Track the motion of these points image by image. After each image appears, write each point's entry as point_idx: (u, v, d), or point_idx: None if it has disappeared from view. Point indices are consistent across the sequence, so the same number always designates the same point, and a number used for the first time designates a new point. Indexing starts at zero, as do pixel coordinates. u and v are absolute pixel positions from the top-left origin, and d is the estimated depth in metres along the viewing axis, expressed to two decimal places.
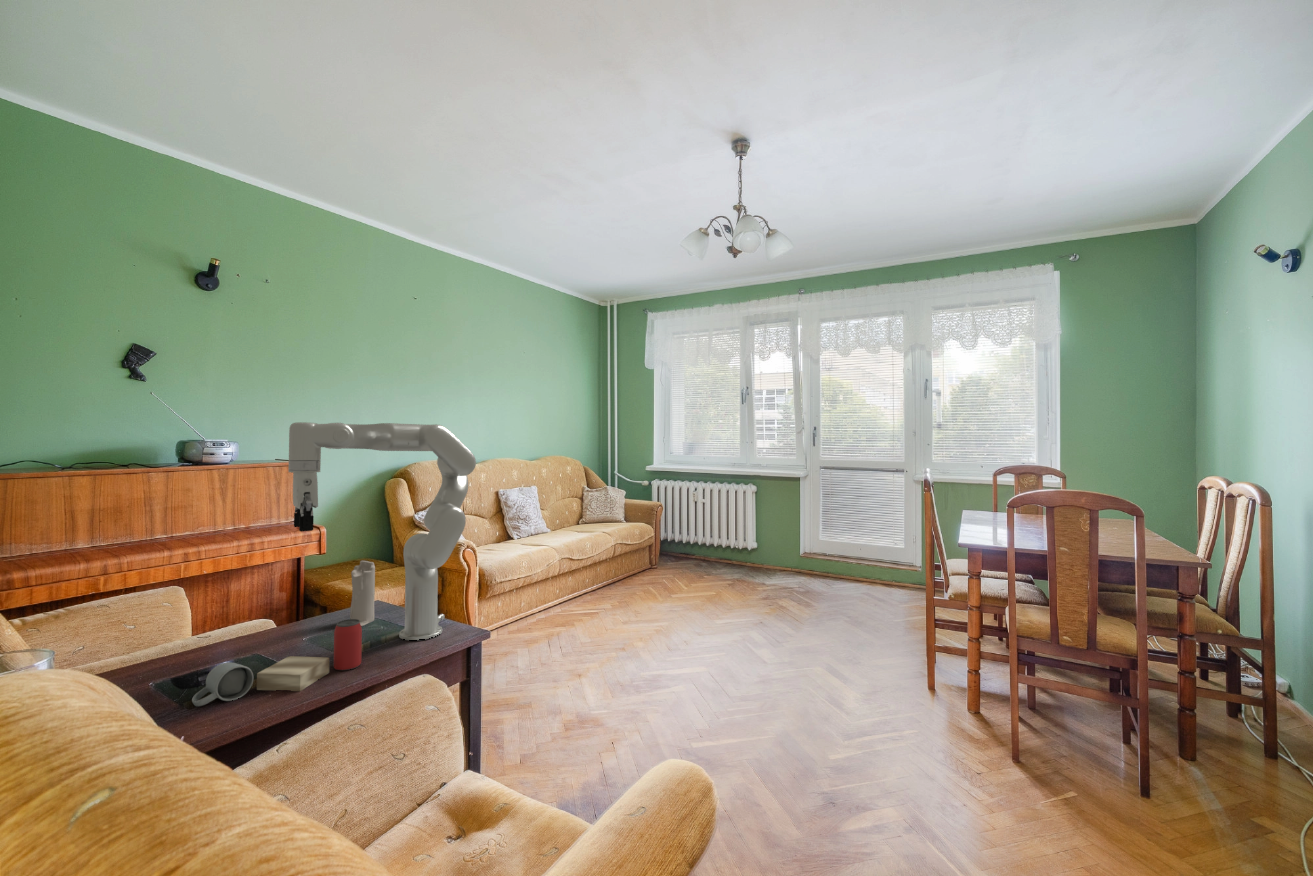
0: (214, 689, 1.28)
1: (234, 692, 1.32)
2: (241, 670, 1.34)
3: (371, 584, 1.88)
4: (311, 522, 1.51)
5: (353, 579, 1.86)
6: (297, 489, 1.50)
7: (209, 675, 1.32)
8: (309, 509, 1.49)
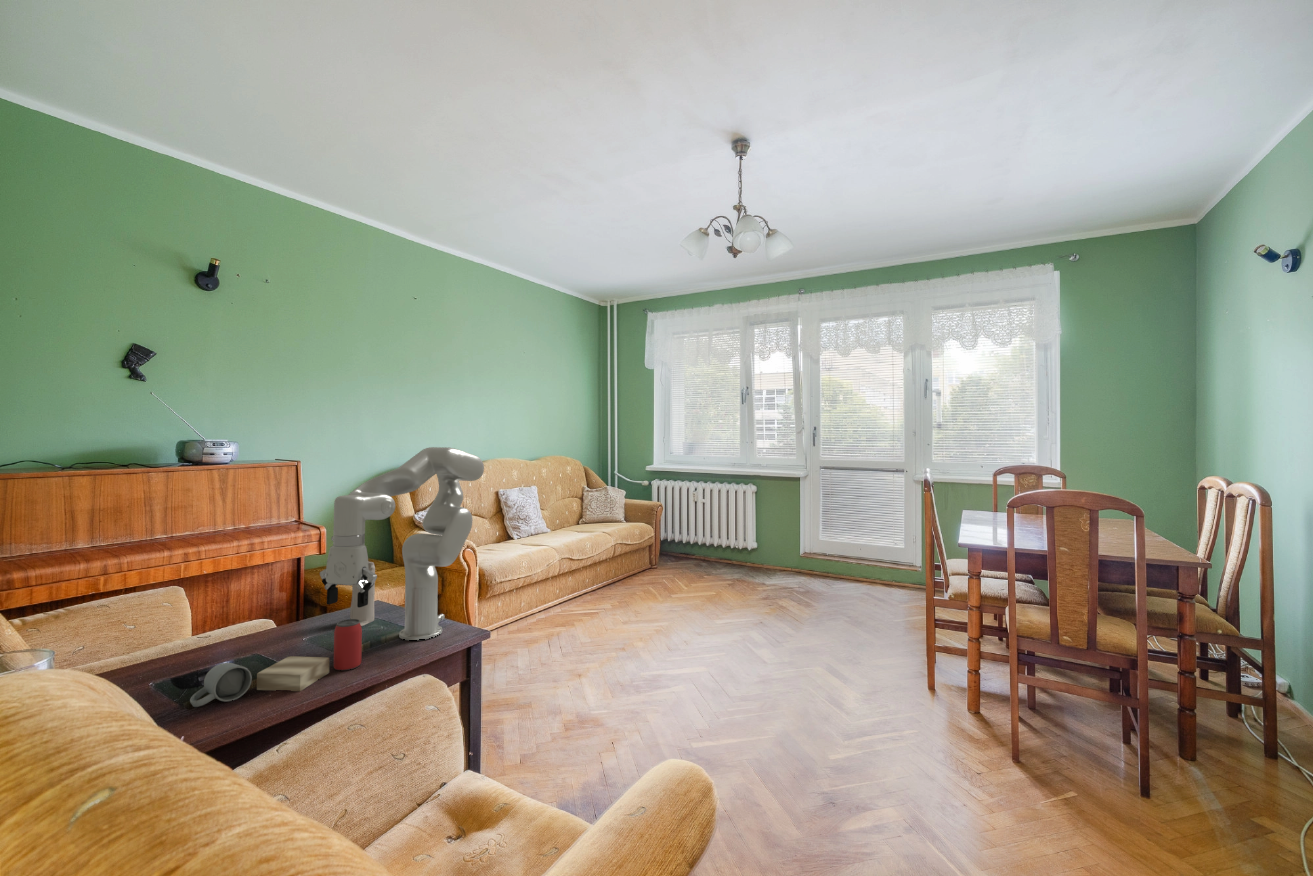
0: (212, 690, 1.28)
1: (232, 692, 1.32)
2: (239, 670, 1.33)
3: None
4: None
5: None
6: None
7: (207, 675, 1.31)
8: None
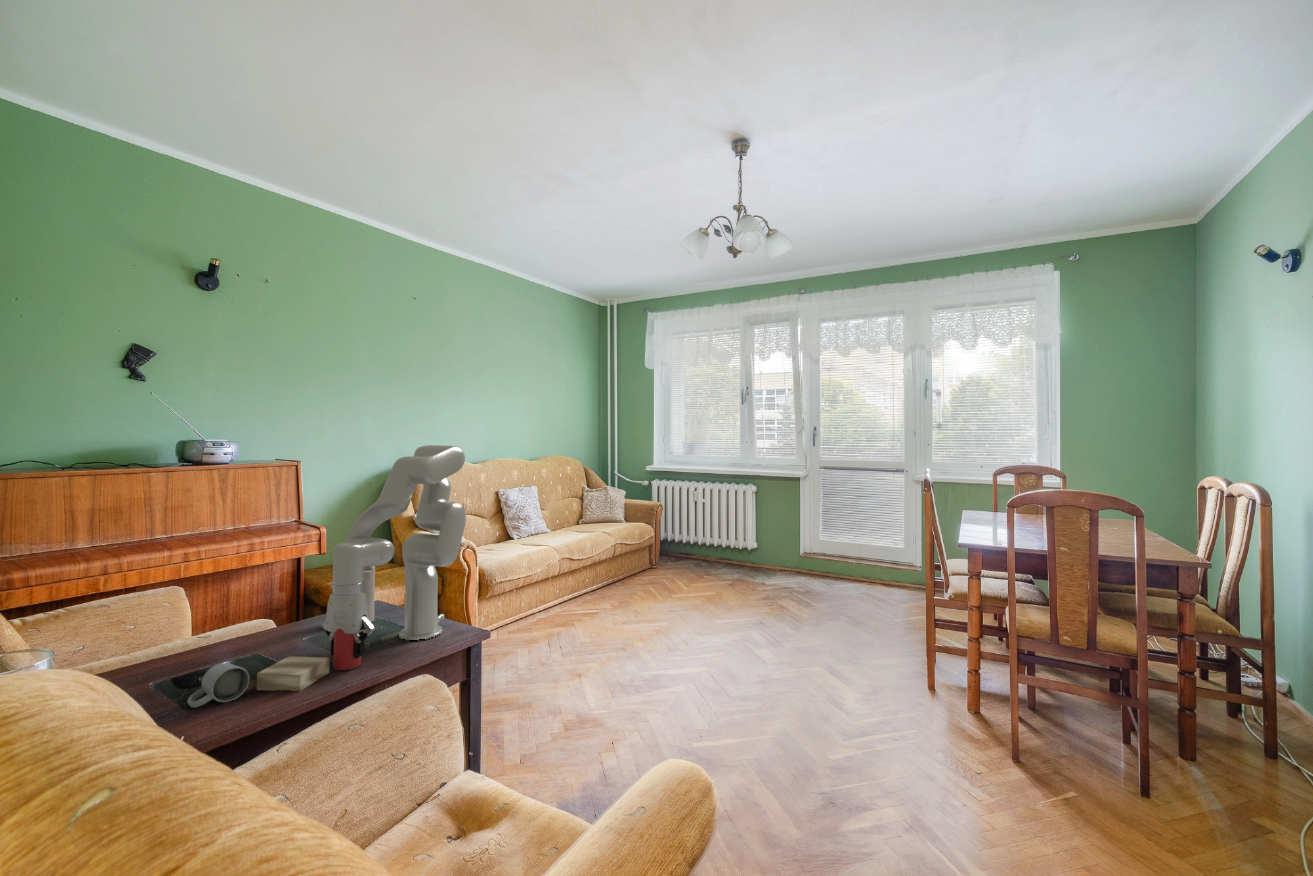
0: (210, 690, 1.28)
1: (230, 693, 1.31)
2: (237, 671, 1.33)
3: (371, 584, 1.88)
4: None
5: None
6: None
7: (205, 676, 1.31)
8: None
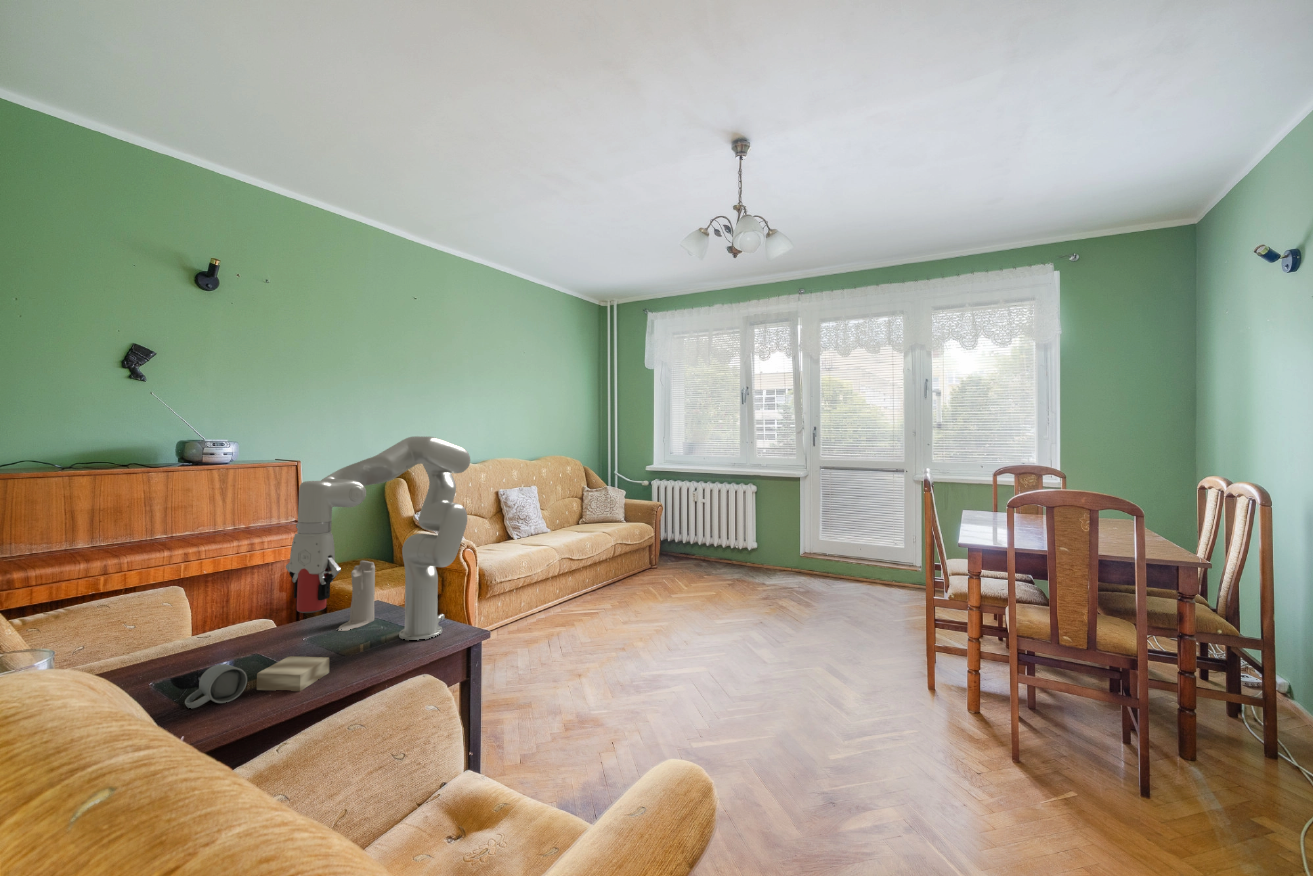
0: (207, 691, 1.27)
1: (227, 694, 1.31)
2: (234, 672, 1.33)
3: (371, 584, 1.88)
4: None
5: (353, 579, 1.86)
6: None
7: (202, 677, 1.31)
8: None
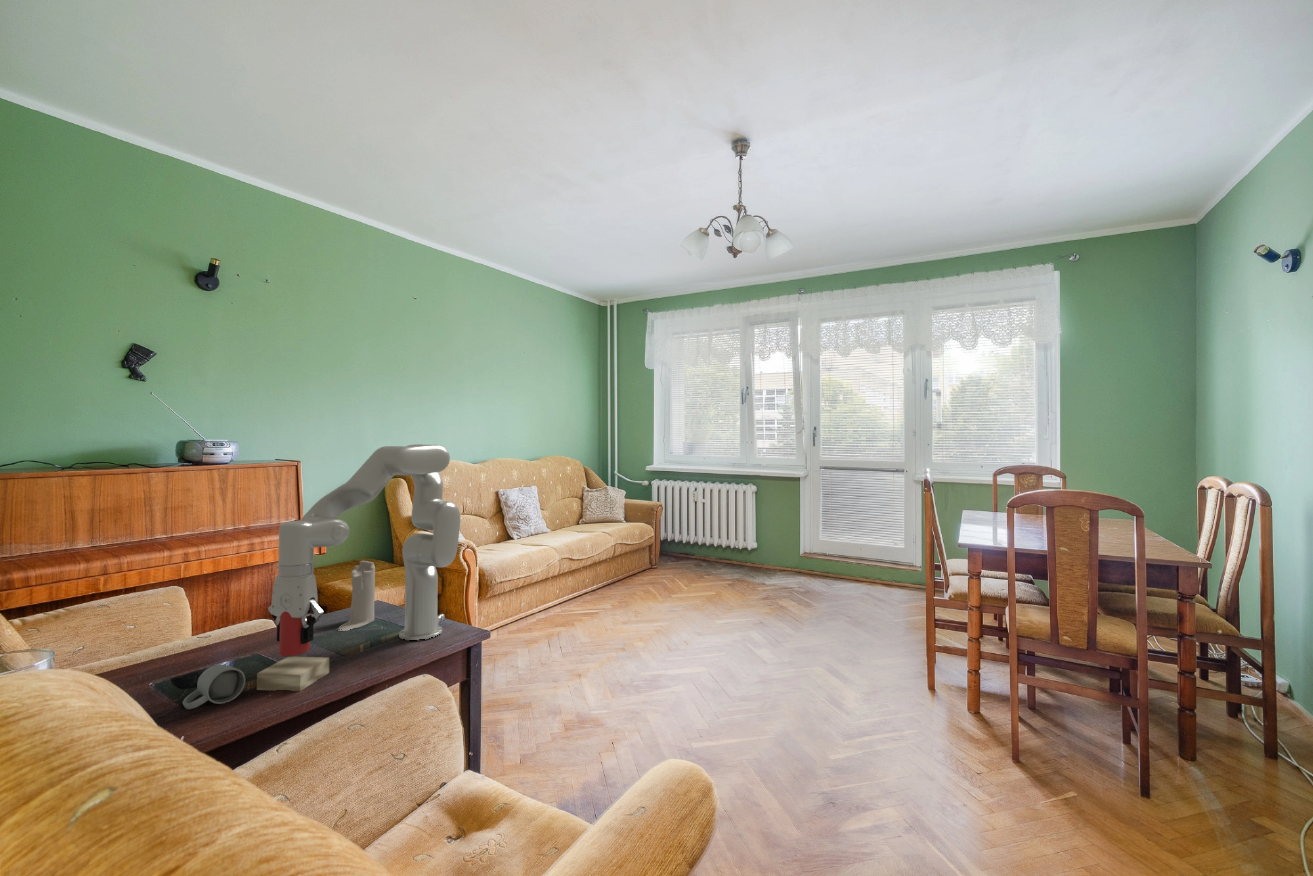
0: (205, 692, 1.27)
1: (225, 695, 1.31)
2: (233, 672, 1.32)
3: (371, 584, 1.88)
4: None
5: (353, 579, 1.86)
6: None
7: (200, 677, 1.30)
8: None
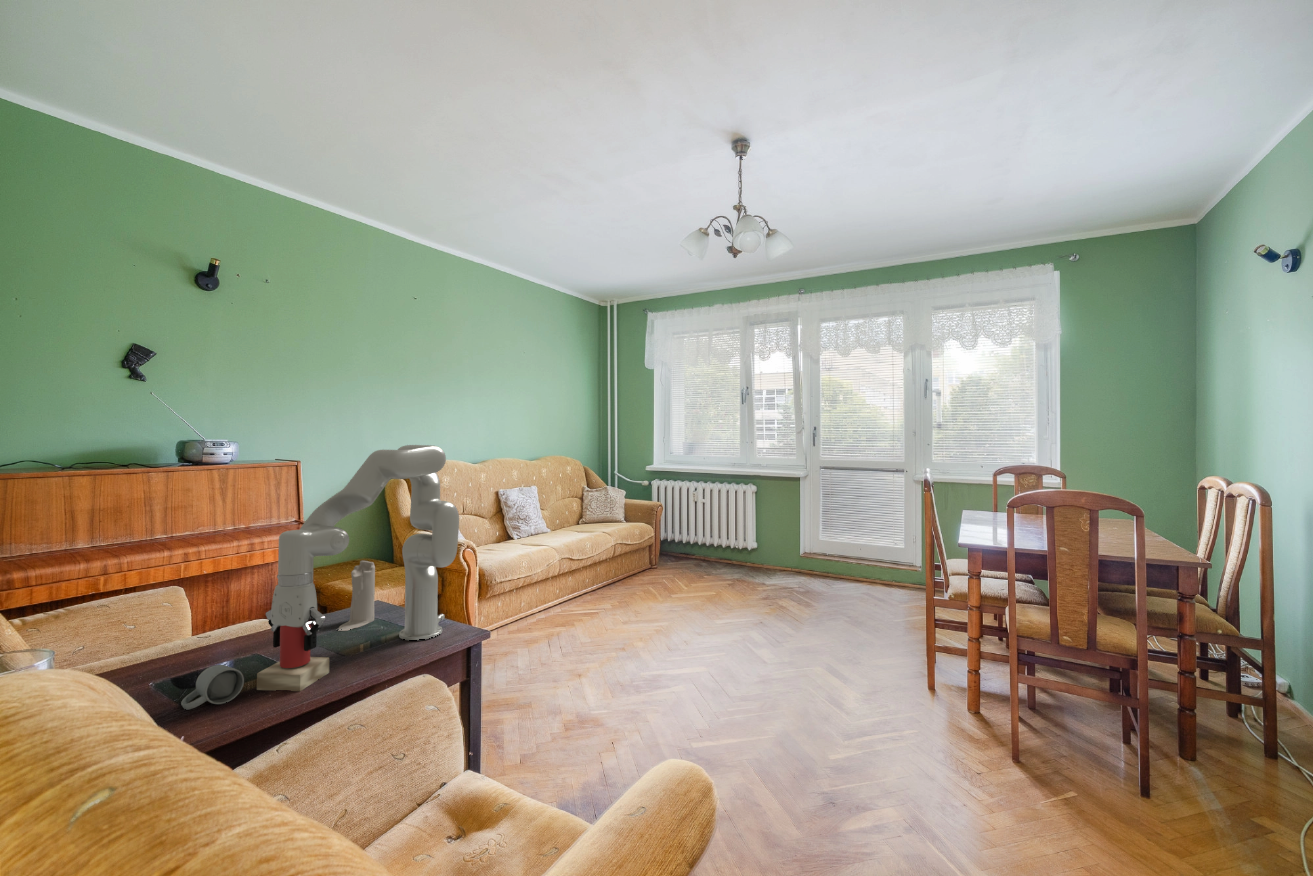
0: (203, 692, 1.27)
1: (224, 695, 1.31)
2: (231, 673, 1.32)
3: (371, 584, 1.88)
4: None
5: (353, 579, 1.86)
6: None
7: (199, 678, 1.30)
8: None
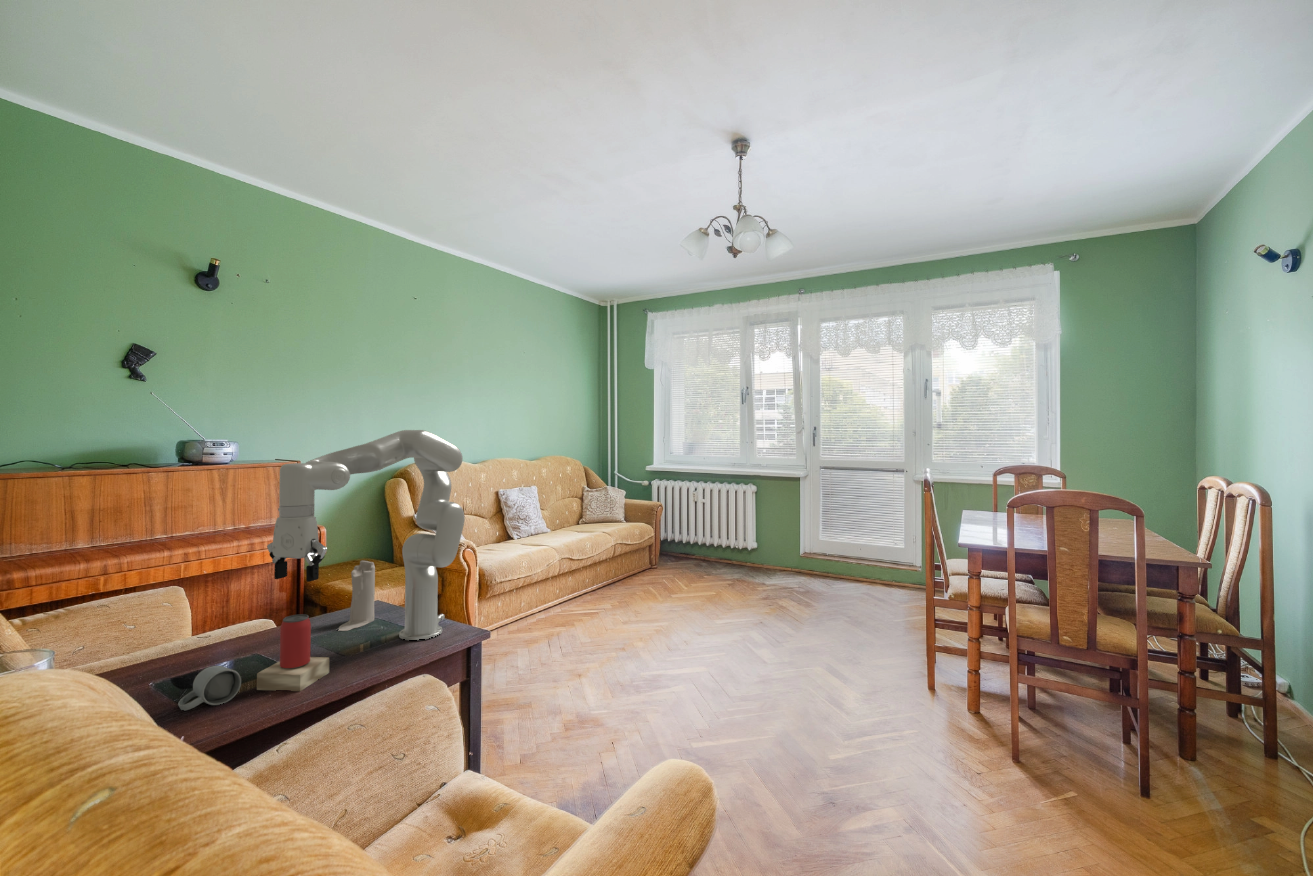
0: (200, 693, 1.26)
1: (221, 696, 1.30)
2: (229, 674, 1.32)
3: (371, 584, 1.88)
4: None
5: (353, 579, 1.86)
6: None
7: (196, 679, 1.30)
8: None
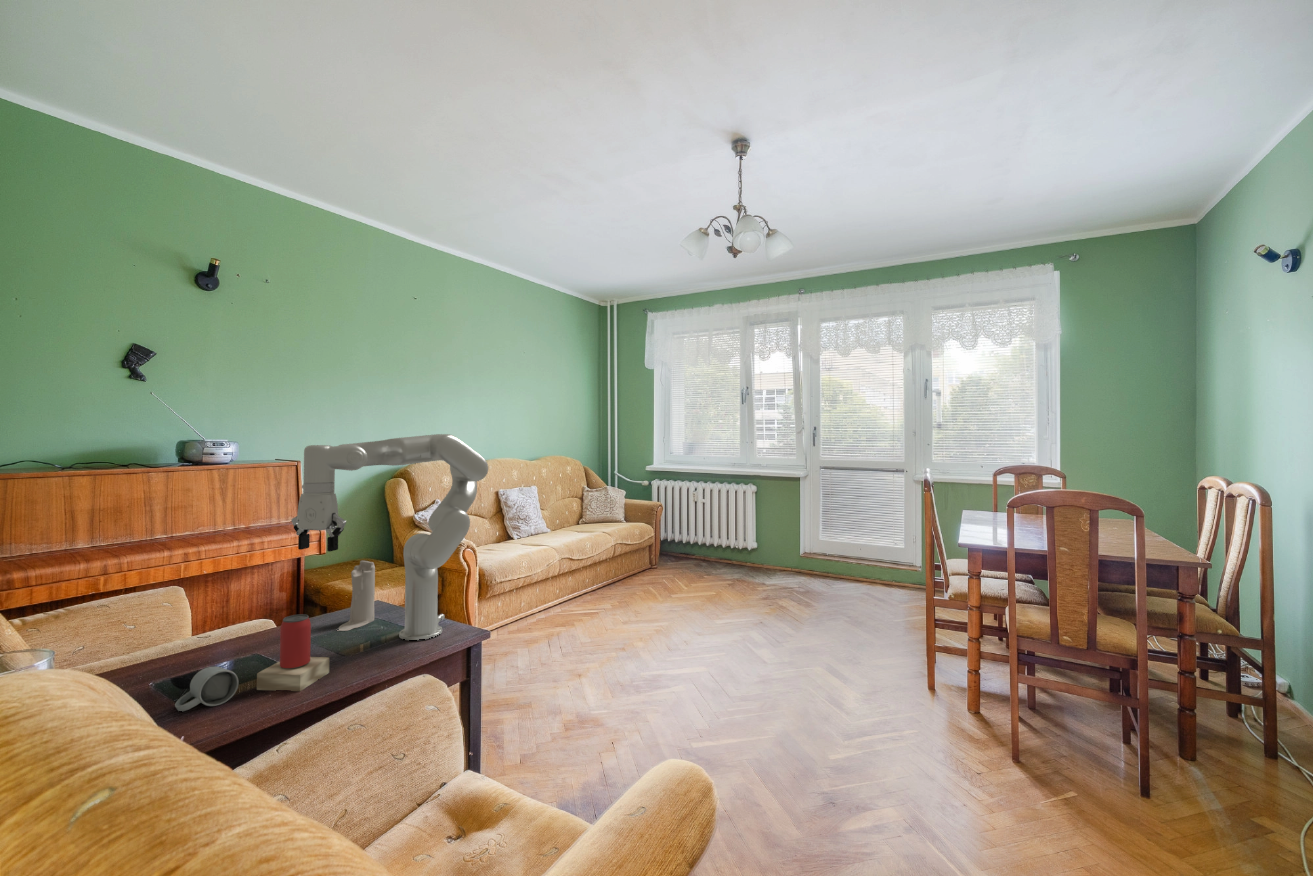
0: (197, 694, 1.26)
1: (218, 697, 1.30)
2: (226, 674, 1.31)
3: (371, 584, 1.88)
4: None
5: (353, 579, 1.86)
6: None
7: (193, 679, 1.29)
8: None
